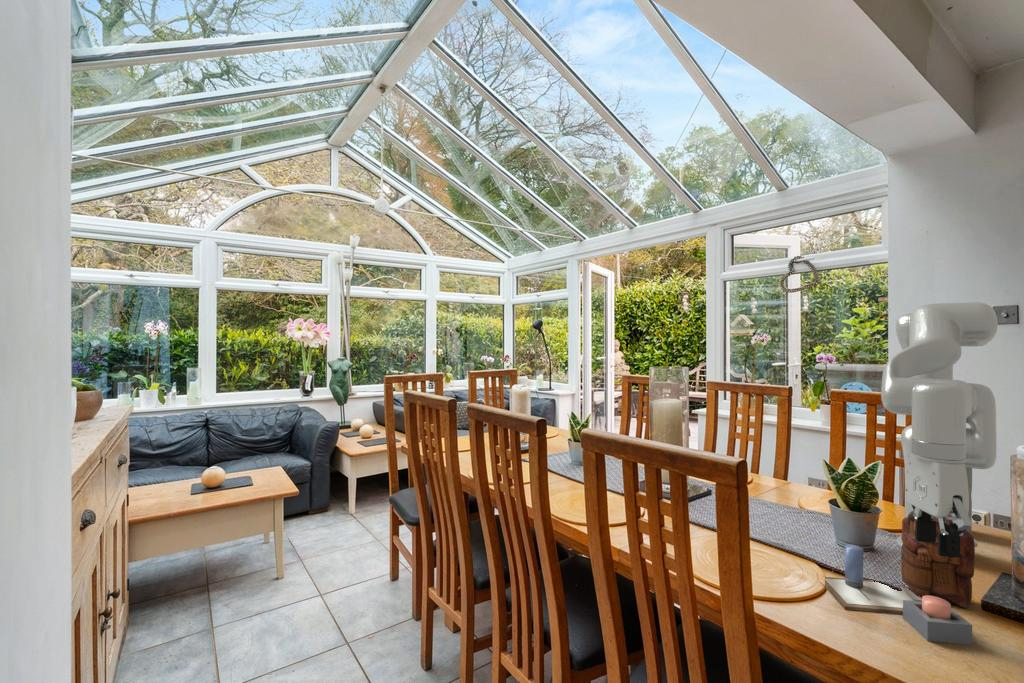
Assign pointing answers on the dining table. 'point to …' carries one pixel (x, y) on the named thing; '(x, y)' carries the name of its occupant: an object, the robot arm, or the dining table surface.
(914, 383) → the robot arm
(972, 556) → the wooden figurine
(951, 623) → the button housing
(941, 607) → the button
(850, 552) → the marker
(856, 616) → the dining table surface
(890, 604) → the clipboard
